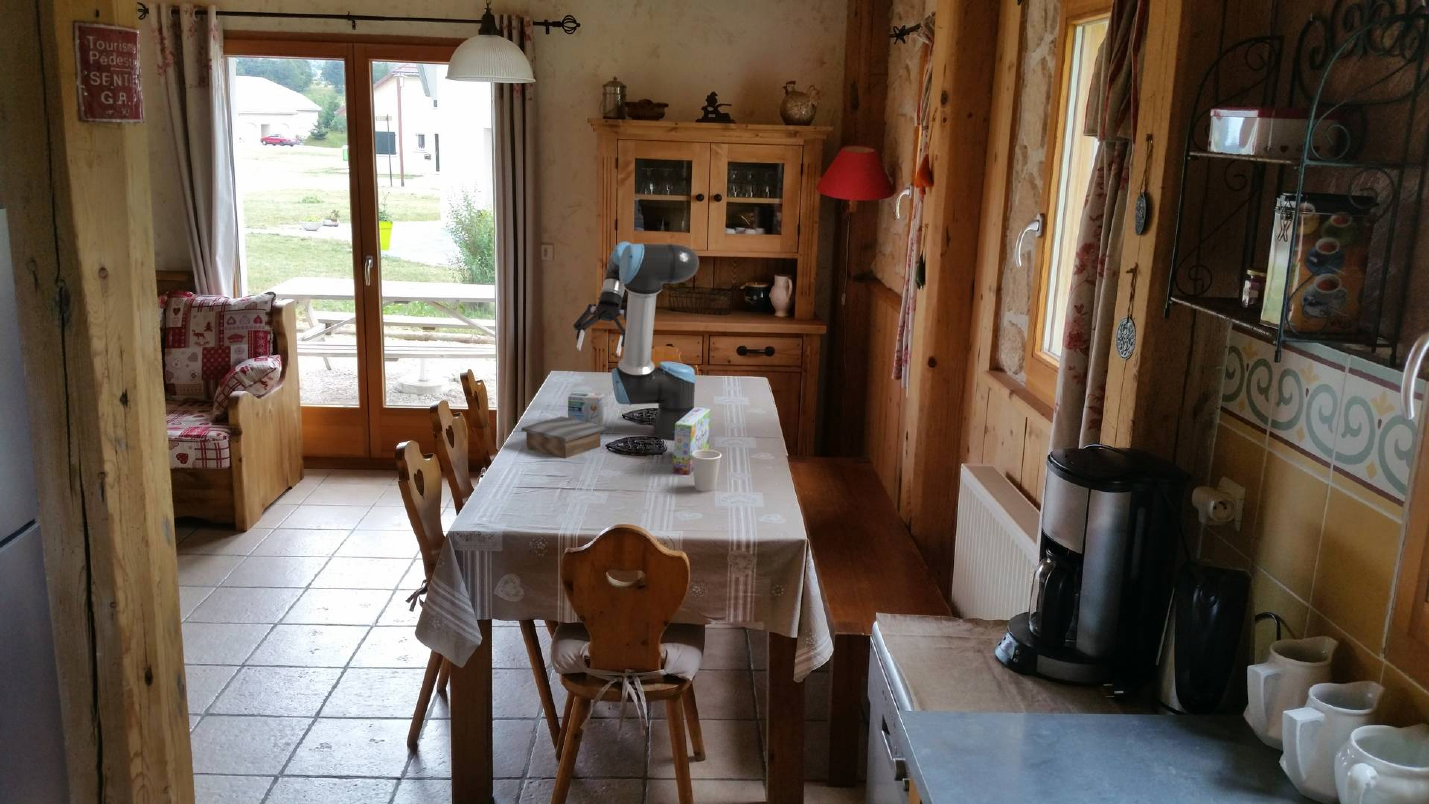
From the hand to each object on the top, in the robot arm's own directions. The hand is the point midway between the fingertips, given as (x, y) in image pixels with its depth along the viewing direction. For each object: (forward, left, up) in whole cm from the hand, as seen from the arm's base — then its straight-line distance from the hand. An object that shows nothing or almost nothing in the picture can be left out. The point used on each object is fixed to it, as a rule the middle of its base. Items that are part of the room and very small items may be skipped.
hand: (598, 352), depth 358 cm
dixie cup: (-68, +34, -24) cm, 80 cm away
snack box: (-52, +19, -24) cm, 60 cm away
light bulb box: (-1, +7, -24) cm, 25 cm away
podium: (-12, +30, -24) cm, 41 cm away
